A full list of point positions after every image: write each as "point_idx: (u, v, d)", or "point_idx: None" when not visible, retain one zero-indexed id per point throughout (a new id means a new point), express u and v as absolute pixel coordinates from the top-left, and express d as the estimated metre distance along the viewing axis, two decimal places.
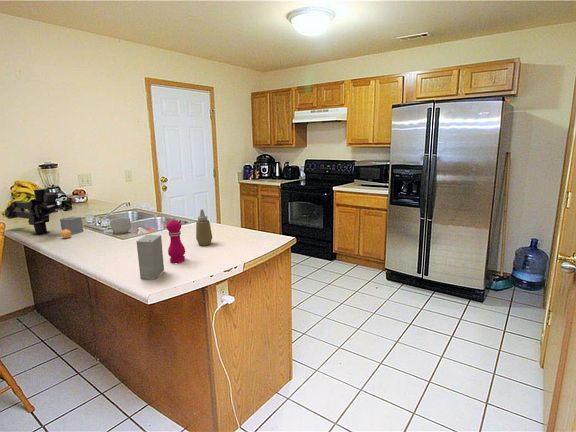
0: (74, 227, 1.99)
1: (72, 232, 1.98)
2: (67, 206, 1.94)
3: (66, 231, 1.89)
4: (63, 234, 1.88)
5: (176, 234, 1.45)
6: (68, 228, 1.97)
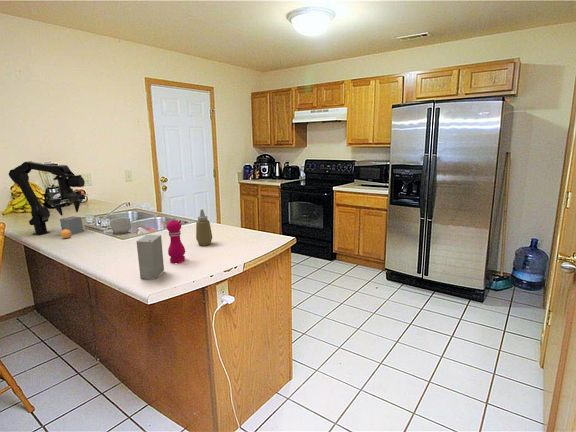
0: (74, 227, 1.99)
1: (72, 232, 1.98)
2: (76, 205, 2.03)
3: (66, 231, 1.89)
4: (63, 234, 1.88)
5: (176, 234, 1.45)
6: (68, 228, 1.97)
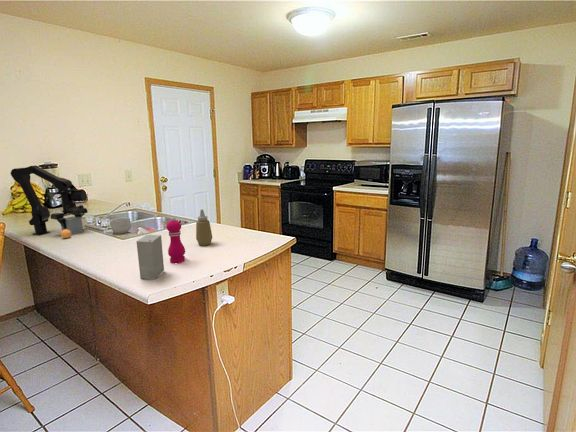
0: (74, 227, 1.99)
1: (72, 232, 1.98)
2: None
3: (66, 231, 1.89)
4: (63, 234, 1.88)
5: (176, 234, 1.45)
6: (68, 228, 1.97)
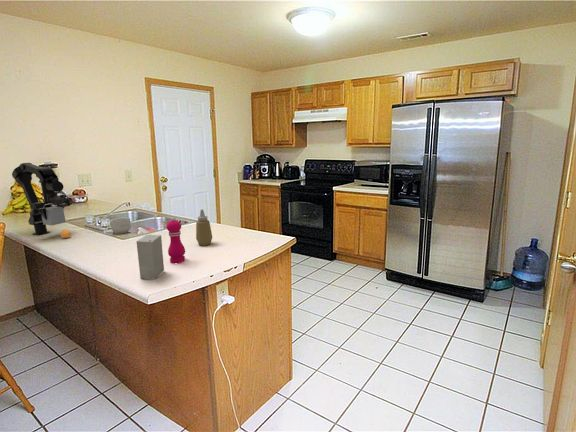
0: (55, 217, 1.89)
1: (53, 223, 1.88)
2: None
3: (66, 231, 1.89)
4: (63, 234, 1.88)
5: (176, 234, 1.45)
6: (49, 218, 1.87)
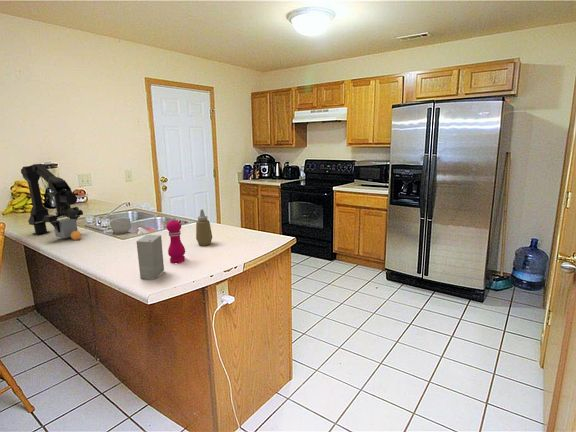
0: (68, 230, 1.87)
1: (66, 235, 1.86)
2: None
3: None
4: None
5: (176, 234, 1.45)
6: (62, 231, 1.85)
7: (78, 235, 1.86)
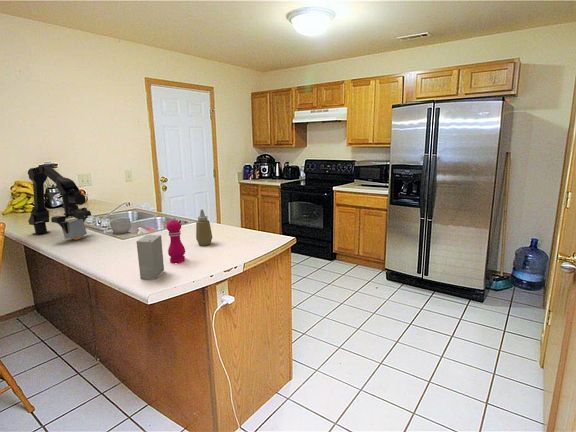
0: (76, 229, 1.84)
1: (75, 235, 1.83)
2: None
3: None
4: None
5: (176, 234, 1.45)
6: (70, 231, 1.82)
7: (79, 236, 1.85)
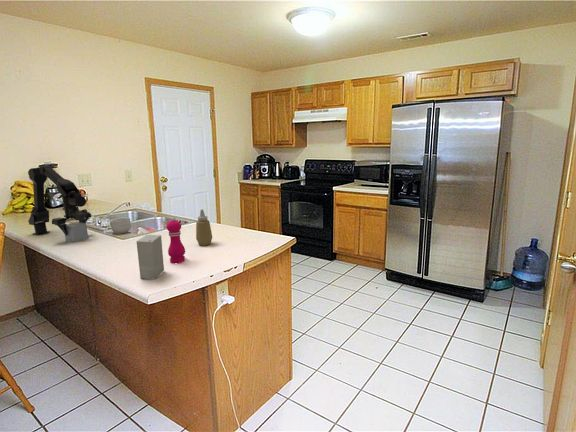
0: (78, 234, 1.84)
1: (76, 239, 1.83)
2: None
3: None
4: None
5: (176, 234, 1.45)
6: (72, 235, 1.82)
7: None
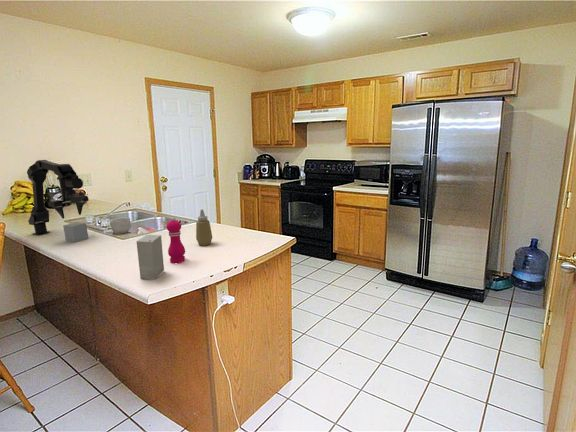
0: (78, 234, 1.84)
1: (76, 239, 1.83)
2: (79, 207, 1.88)
3: None
4: None
5: (176, 234, 1.45)
6: (72, 235, 1.82)
7: None
